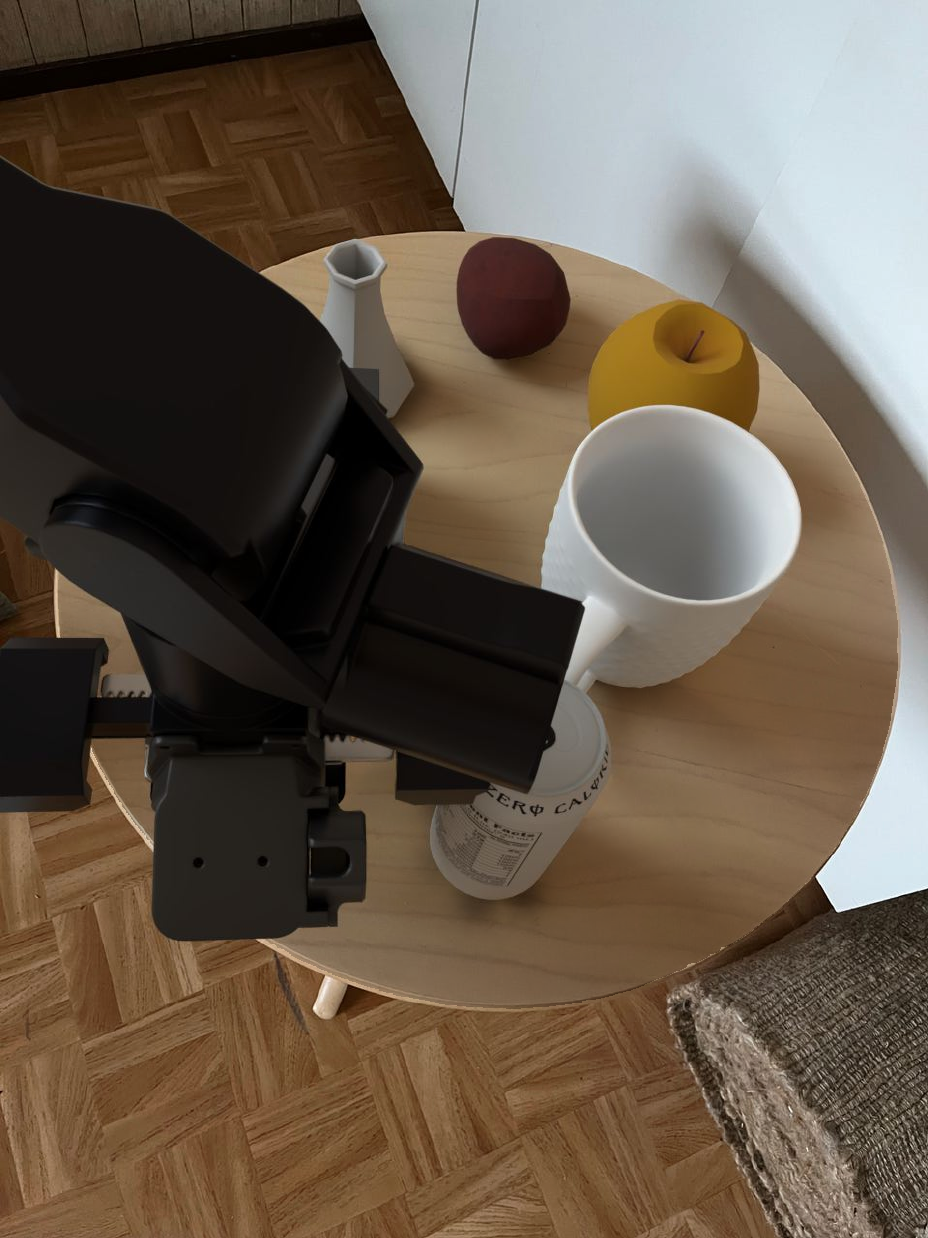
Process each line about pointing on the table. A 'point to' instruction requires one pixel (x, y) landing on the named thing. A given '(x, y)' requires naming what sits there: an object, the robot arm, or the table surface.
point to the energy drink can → (526, 809)
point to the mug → (667, 542)
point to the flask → (364, 319)
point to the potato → (511, 297)
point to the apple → (676, 365)
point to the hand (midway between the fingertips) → (263, 791)
